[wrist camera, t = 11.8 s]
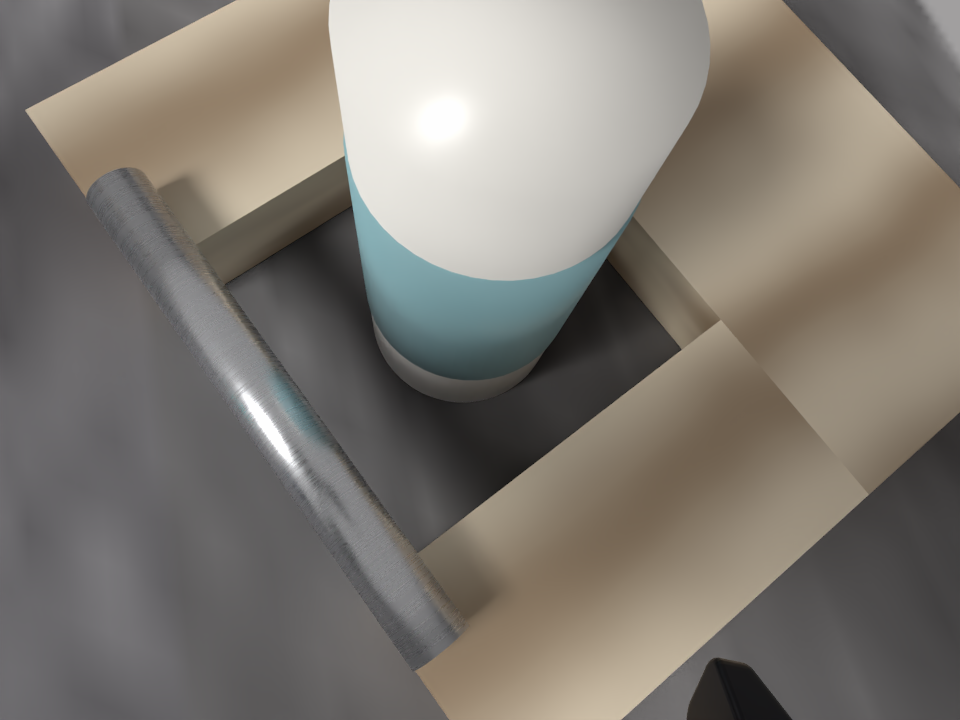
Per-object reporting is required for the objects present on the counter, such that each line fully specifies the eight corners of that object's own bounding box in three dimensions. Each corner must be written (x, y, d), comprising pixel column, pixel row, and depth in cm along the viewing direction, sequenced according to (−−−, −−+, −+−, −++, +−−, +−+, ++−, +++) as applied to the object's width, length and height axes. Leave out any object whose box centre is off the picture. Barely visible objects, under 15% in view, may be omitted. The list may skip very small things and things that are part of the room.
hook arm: (465, 622, 18) (471, 627, 16) (412, 666, 17) (412, 675, 16) (155, 189, 20) (134, 157, 18) (101, 219, 20) (75, 190, 18)
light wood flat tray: (995, 338, 25) (1073, 308, 22) (500, 778, 20) (516, 815, 17) (582, -113, 28) (602, -190, 25) (72, 166, 23) (24, 109, 20)
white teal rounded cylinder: (569, 385, 23) (763, 168, 10) (389, 420, 22) (362, 232, 10) (527, 221, 24) (655, -146, 12) (356, 248, 23) (296, -114, 11)
